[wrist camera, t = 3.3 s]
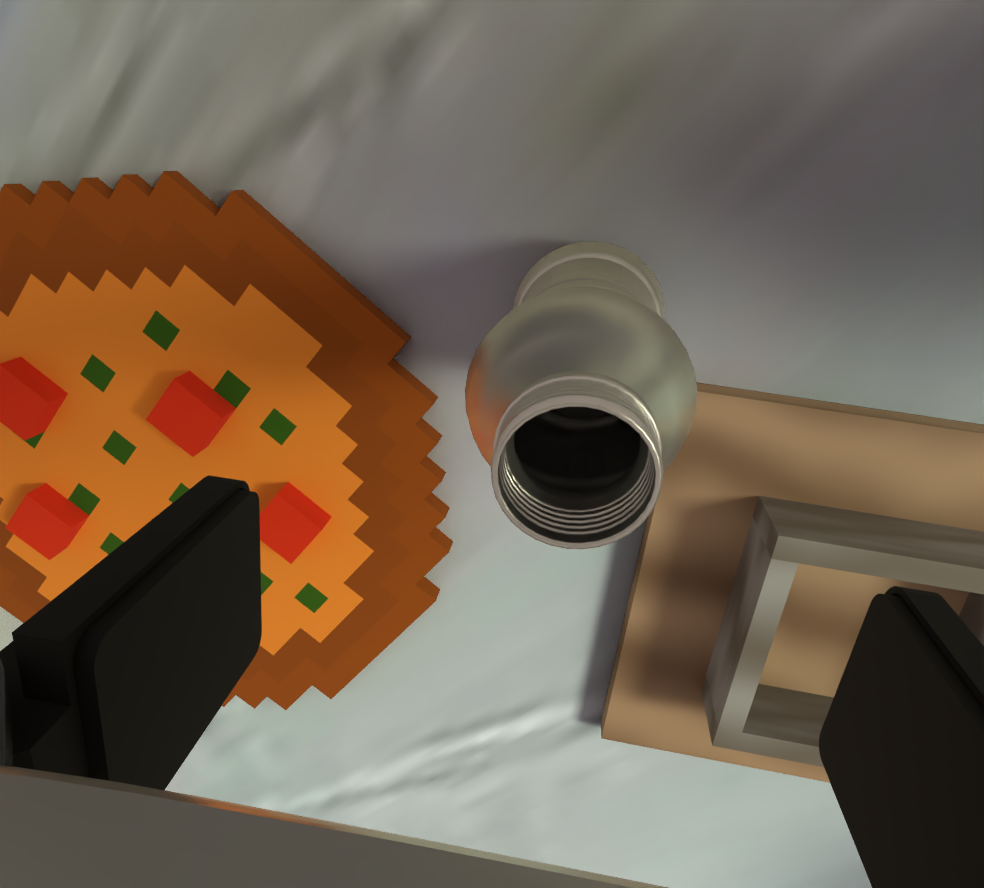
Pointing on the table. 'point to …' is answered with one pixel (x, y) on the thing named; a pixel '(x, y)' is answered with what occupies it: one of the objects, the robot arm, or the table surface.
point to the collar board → (786, 568)
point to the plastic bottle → (581, 397)
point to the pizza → (211, 414)
